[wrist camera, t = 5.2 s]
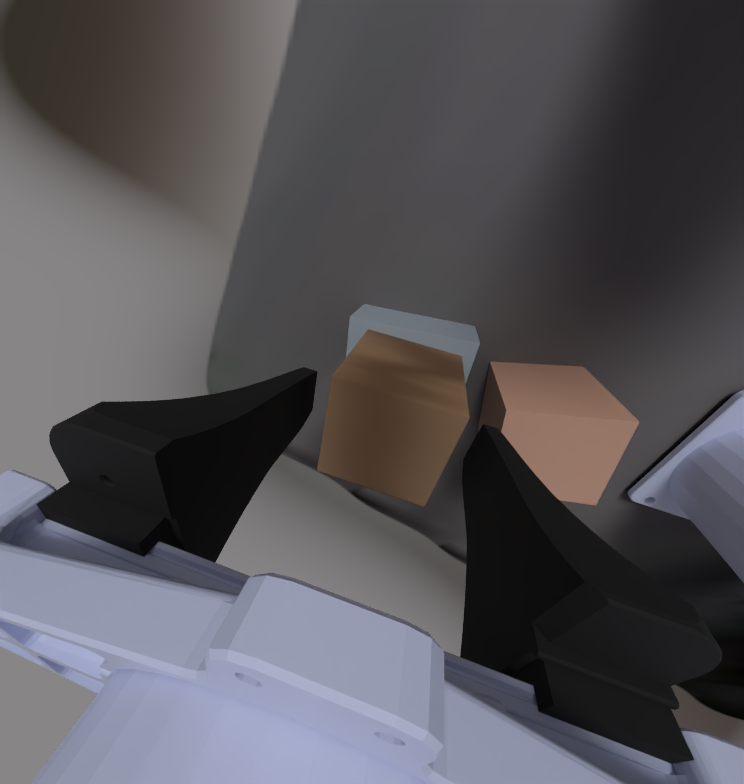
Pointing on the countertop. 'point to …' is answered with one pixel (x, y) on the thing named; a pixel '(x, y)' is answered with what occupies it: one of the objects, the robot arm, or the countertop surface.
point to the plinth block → (416, 331)
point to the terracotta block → (559, 425)
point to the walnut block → (394, 416)
